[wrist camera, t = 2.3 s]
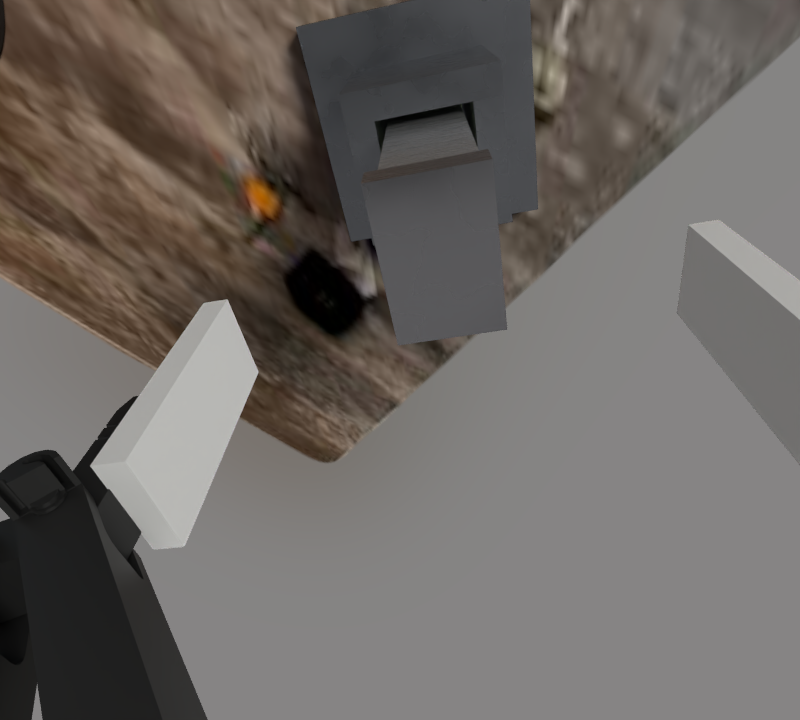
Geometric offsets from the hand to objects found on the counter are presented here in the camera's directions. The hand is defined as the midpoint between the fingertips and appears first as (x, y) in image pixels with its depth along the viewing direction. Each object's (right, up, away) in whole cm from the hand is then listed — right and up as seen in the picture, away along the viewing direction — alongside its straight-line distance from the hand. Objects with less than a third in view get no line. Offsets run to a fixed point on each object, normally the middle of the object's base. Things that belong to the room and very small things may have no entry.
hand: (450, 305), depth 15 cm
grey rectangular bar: (0, +14, +19) cm, 24 cm away
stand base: (0, +15, +21) cm, 26 cm away
